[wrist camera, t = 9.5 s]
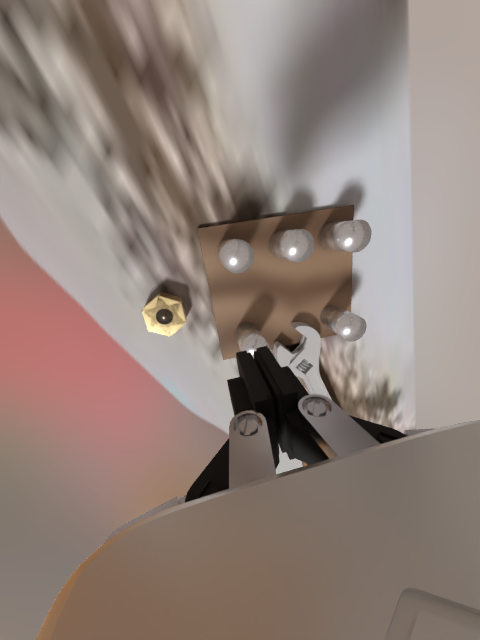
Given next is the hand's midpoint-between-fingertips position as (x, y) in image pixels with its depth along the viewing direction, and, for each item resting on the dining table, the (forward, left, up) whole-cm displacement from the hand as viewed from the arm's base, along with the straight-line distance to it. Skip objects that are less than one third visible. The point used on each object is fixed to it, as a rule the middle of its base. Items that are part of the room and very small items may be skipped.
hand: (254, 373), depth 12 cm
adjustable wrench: (+17, +11, -17) cm, 26 cm away
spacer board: (0, +8, -17) cm, 19 cm away
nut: (0, -7, -17) cm, 18 cm away
